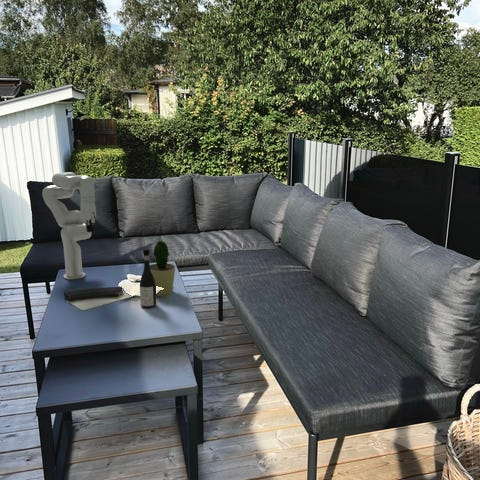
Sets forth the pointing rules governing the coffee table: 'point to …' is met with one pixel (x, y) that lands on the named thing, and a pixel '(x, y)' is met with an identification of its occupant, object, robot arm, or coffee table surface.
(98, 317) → the coffee table surface
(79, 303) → the mat
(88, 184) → the robot arm
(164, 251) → the potted cactus
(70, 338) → the coffee table surface
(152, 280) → the wine bottle
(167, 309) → the coffee table surface
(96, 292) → the magazine
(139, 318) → the coffee table surface
